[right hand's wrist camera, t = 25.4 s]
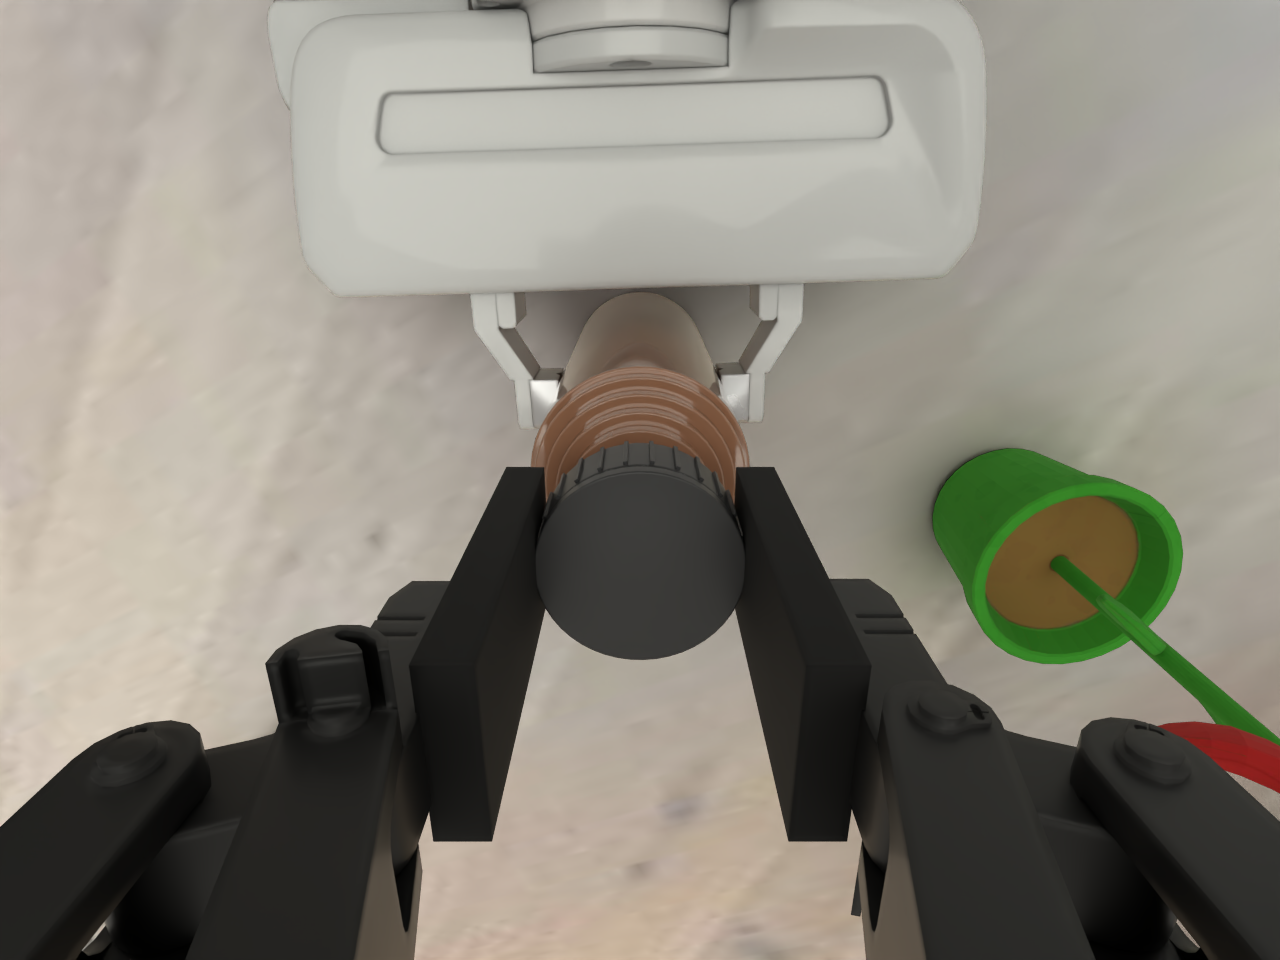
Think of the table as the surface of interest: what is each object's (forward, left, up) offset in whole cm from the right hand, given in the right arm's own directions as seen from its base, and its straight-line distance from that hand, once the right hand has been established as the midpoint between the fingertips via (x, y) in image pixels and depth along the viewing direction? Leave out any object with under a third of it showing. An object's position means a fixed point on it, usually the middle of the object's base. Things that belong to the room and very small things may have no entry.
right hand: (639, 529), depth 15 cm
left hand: (-1, 0, -11) cm, 11 cm away
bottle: (0, 0, -17) cm, 17 cm away
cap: (0, 0, +1) cm, 1 cm away
